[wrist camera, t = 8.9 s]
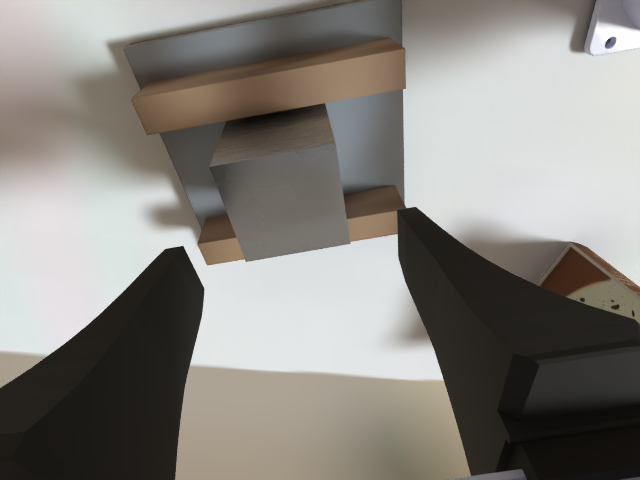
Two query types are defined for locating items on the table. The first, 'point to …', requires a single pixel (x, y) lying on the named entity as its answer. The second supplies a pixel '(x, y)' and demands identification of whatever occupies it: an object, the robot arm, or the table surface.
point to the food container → (592, 282)
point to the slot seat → (283, 103)
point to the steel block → (281, 182)
